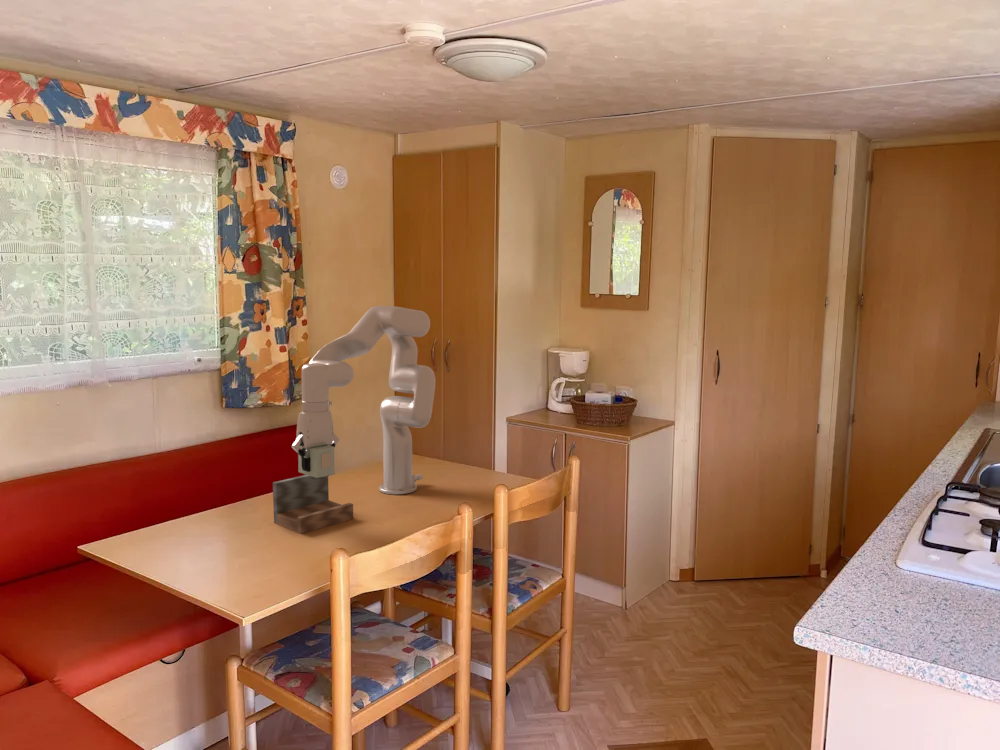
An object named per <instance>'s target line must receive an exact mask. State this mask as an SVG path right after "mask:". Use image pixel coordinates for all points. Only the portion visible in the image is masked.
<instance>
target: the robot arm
mask: <svg viewBox="0 0 1000 750" xmlns="http://www.w3.org/2000/svg"><path fill="white" fill-rule="evenodd" d="M430 328H431V319H430V316H429V315H428V314H427V313H426V312H425V311H423V310H418V309H412V308H407V307H403V306H402V307H401V306H393V305H392V306H391V305H389V306H388V305H375V306H371V307H370V308H369V309H368V310H367V311H366V312H364V314H363V315H362V316H361V318H360V319H359V320H358V321H357V322H356V323H355V325H354V326H353V327H352V328H351V329H350V330H349V332H348V333H346V334H344V335H341V336H340V337H337V338H336V339H334V340H332V341H330V342H328V343H327V344H324V346H323V347H321V348H320V349H319V350H318V351H317V352H316V353H315V354H314V356H313V357H311V359H310V361H309V362H308V363H305V364H303V366H302V367H301V411H300V412H299V413H298V417H297V423H296V438H295V441H293V443H292V445H291V448H292V449H293V450H294V451H295V452H296V453H297V455H298V454H299V455H300V457H302V470H304V471H307V472H309V471H310V458H309V457H308V456H309V453H310V448H313V447H319V446H324V445H329V446H333V447H334V448H335V447H336V445H337V444H338V443H339V441H340V438H339V437H338V436H337V435H336V433H335V432H334V429H335V428H334V421H333V420H334V419H333V415H332V411H331V410H330V406H333V405H332V404H333V401H331V400H330V388H344V387H346V386H348V385H350V384H351V382H352V381H353V380H354V376H355V371H354V369H353V367H352V366H351V364H349V363H347V362H345V360H349V359H353V358H358V357H361V356H364V355H367V354H368V353H370V352H371V350H372V349H373V348H374V347H375V346H376V344H377V343H378V342H379V340H380V339H381V338H382V337H383V335H385V334H386V335H387V338H388V340H389V341H390V345H391V357H390V364H389V365H390V366H389V374H388V387H389V388H390V389H391V390H392V391H395V392H398V393H405V394H413V397H409V396H400V395H390V396H387V397H386V398H384V399H383V400H382V401H381V403H380V406H379V416H380V420H381V421H380V422H381V426H382V442H383V445H382V448H383V449H382V451H383V453H382V454H383V455H382V459H383V460H382V461H383V462H382V465H383V467H382V468H383V469H382V470H383V483H381V484H380V485H379V486H378V490H379V492H380V493H382V494H387V495H405V494H406V495H407V494H411V493H414V492H415V491H417V489H418V485H417V484H416V482H417V481H420V480H422V479H424V475H423V474H422V473H417V474H415V473H413V436H412V432H411V430H410V428H415V429H416V428H417V429H421V428H424V427H425V428H426V426H428V425H429V423H430V421H431V418H432V414H433V408H434V407H433V405H434V400H435V399H434V398H435V391H436V383H437V382H436V381H437V380H436V376H435V372H434V371H433V369H432V368H431V367H429V366H427V365H424V364H423V365H422V364H418V354H419V353H418V349H419V348H418V345H417V343H416V341H415V339H414V338H422V337H424V336H425V335H427V334H428V333H429V331H430ZM299 446H302V448H301V449H300V447H299ZM305 448H306V451H305Z"/></svg>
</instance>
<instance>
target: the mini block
mask: <svg viewBox="0 0 1000 750" xmlns="http://www.w3.org/2000/svg"><path fill="white" fill-rule="evenodd" d="M299 447H300V449H301V448H302V446H299ZM305 451H306V448H305ZM308 457H309V458H310V471H309V472H307V471H304V470H302V457H300V455H299V454H298V453H297V460H298V464H297V465H298V466H297V467H298V470H297V471H298V473H300V474H303V475H309V476H312V477H315V478H319V477H324V476H328V477H329V476H333V475H335V447H333V446H329V445H324V446H319V447H313V448H310V453H309V456H308Z"/></svg>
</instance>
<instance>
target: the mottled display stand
mask: <svg viewBox="0 0 1000 750" xmlns="http://www.w3.org/2000/svg"><path fill="white" fill-rule="evenodd" d="M272 496H273V501H272V502H273V503H272V504H273V524H274V523H275V524H276V525H279V526H281V527H284V528H286V529H289V530H291V531H293V532H296V533H298V534H300V535H303V534H305V533H309V532H311V531H316V530H320V529H323V528H326V527H329V526H333V525H336V524H339V523H340V524H341V523H343V522H346V521H350V520H353V519H354V504H353V503H351V502H348V503H344V504H341V503H338V502H335V501H332V500H329V497H330V496H329V475H328V476H324V477H319V478H315V477H312V476H309V475H306V474H303V475H299V476H294V477H291V478H286V479H283V480H278V481H273V482H272Z"/></svg>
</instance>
